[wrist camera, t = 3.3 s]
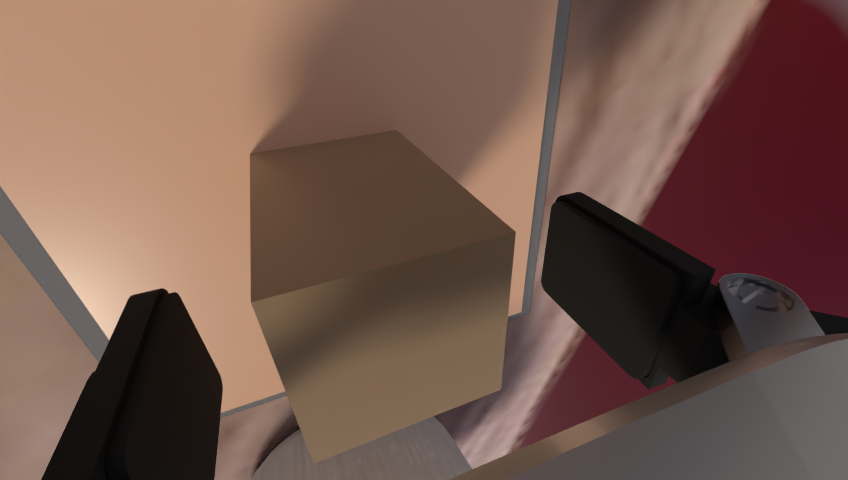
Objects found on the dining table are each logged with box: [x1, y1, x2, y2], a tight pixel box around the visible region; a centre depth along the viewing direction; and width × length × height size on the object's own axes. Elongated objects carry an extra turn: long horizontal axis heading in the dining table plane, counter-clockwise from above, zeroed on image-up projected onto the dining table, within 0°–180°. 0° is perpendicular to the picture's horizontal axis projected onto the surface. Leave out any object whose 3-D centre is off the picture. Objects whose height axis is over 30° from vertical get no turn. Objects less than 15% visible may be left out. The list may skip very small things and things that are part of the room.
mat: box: [0, 0, 571, 418], centre depth 14 cm, size 18×18×1 cm
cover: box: [0, 0, 558, 463], centre depth 10 cm, size 16×16×8 cm
